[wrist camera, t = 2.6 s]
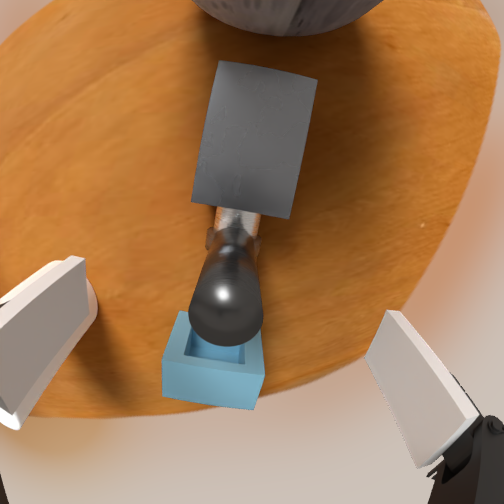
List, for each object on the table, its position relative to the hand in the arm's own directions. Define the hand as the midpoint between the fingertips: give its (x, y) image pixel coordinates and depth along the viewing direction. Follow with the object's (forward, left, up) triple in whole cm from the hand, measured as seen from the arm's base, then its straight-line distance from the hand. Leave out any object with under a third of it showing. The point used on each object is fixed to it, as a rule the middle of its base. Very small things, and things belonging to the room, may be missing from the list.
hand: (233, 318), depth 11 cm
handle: (0, +3, -12) cm, 13 cm away
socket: (0, -11, -13) cm, 17 cm away
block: (0, +7, -13) cm, 15 cm away
